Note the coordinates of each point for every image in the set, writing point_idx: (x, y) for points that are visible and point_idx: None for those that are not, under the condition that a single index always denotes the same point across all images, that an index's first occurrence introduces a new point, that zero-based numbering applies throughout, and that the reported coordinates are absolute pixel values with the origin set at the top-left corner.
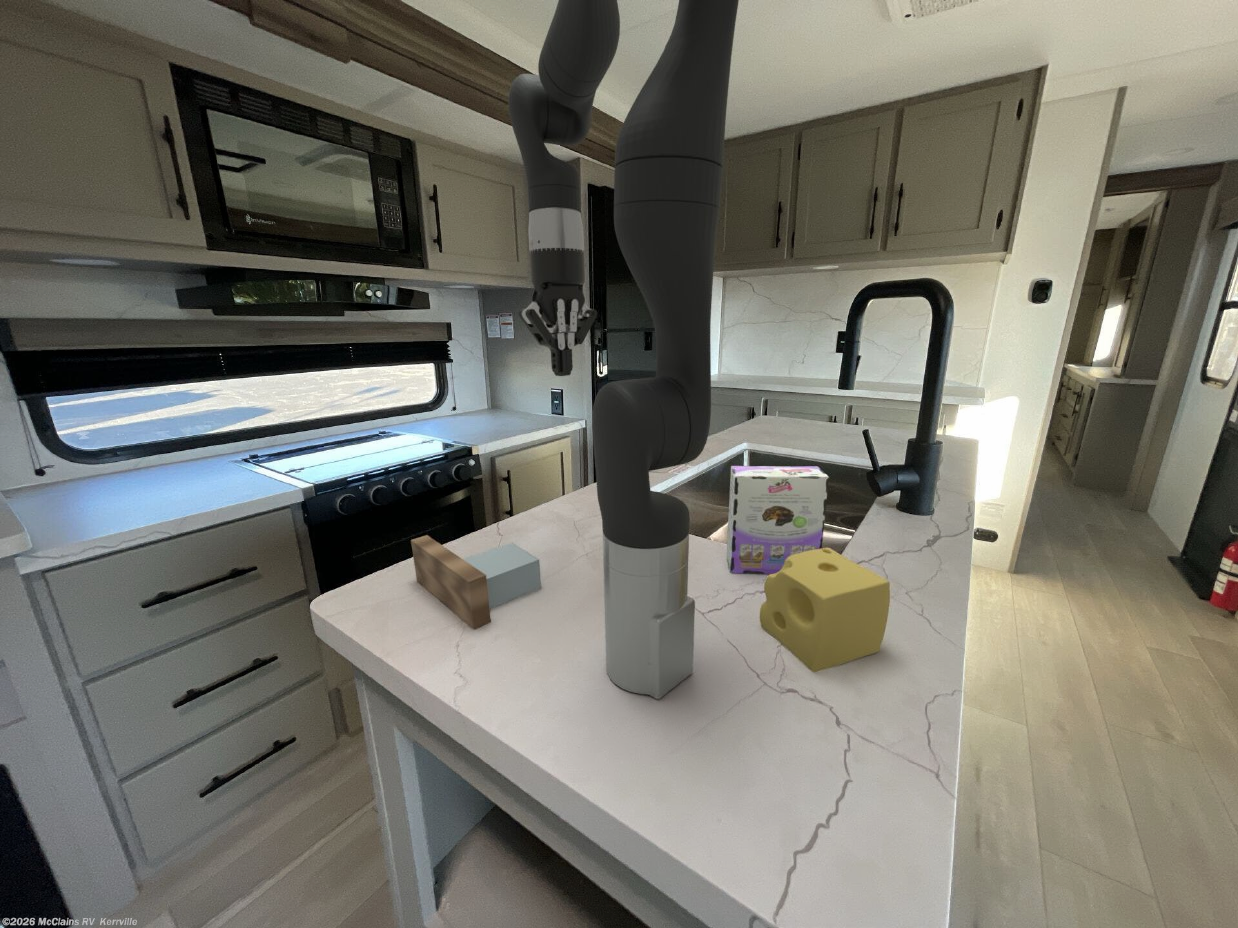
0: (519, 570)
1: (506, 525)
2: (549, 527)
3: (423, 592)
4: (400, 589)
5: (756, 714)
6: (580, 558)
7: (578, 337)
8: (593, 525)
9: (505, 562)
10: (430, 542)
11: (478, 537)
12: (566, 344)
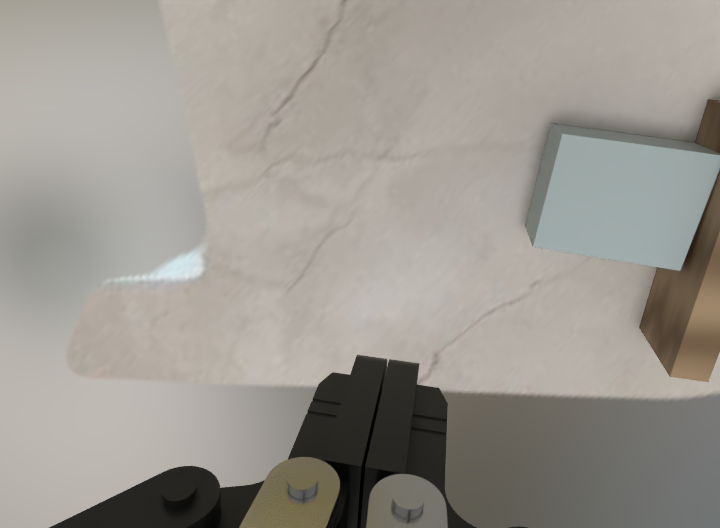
0: (614, 139)
1: None
2: (345, 308)
3: None
4: None
5: None
6: (406, 152)
7: (187, 519)
8: (274, 243)
9: (617, 181)
10: (695, 340)
11: (472, 383)
12: (337, 509)
